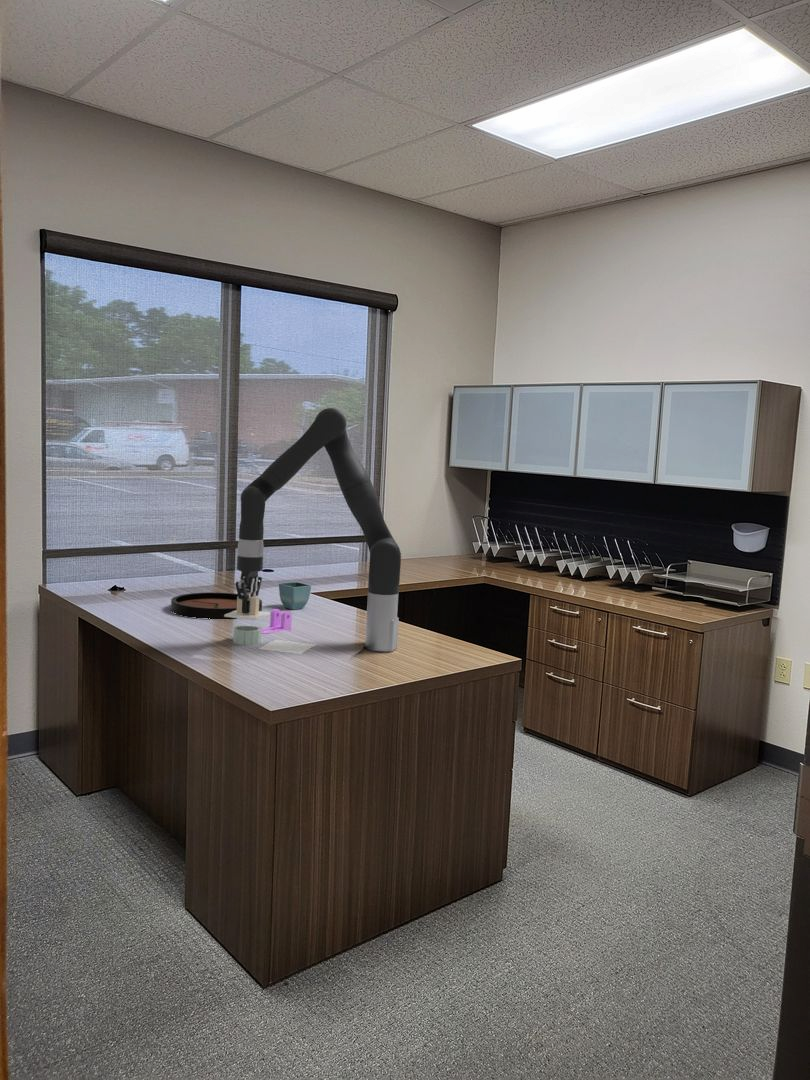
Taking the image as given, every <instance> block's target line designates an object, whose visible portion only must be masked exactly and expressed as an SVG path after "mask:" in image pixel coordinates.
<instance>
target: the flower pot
mask: <svg viewBox="0 0 810 1080" xmlns="http://www.w3.org/2000/svg"><path fill="white" fill-rule="evenodd" d="M278 590H279V591H278V594H279V598H280V602H281V604H282V605H283V607H284V608H285V609H289V610H292V609H294V610H301V609H300V608H303V609H304V608H305V606H306V605H307V604H308V601H309V599H310V595H311V590H312V585H311V584H306V583H303V582H299V581H294V582H293V581H292V582H281V583H280V582H279V583H278Z"/></svg>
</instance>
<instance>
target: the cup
mask: <svg viewBox="0 0 810 1080" xmlns="http://www.w3.org/2000/svg"><path fill="white" fill-rule="evenodd" d="M261 629H262V628H261V627H259V626H257V625H237V626H234V627H233V631H232V632H233V633H232V635H233V636H232V642H233V644H236V645H241V646H253V645H259V644H261V642H262V634H261Z"/></svg>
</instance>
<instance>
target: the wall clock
mask: <svg viewBox="0 0 810 1080" xmlns="http://www.w3.org/2000/svg"><path fill="white" fill-rule="evenodd" d="M237 596H238V593H233V592H219V591H218V592H213V591H211V592H207V591H206V592H191V593H185V594H179V595H176V596H173V597H172V598H171V599H170V600H171V601H170V612H171V611H172V612H171V613H173V612H174V613H176V614H175V615H177V614H178V615H177V616H180V615H182V616H181V617H184V616H187V617H186V618H189V617H196V618H195V619H197V618H208V619H207V620H210V619H229V620H238V619H237V618H232V617H224V615H225V614H227V613H230V612H233V611H235V610H237ZM259 611H261V612H263V600H262V599H260V598H259ZM174 613H173V614H174ZM209 618H210V619H209Z"/></svg>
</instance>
